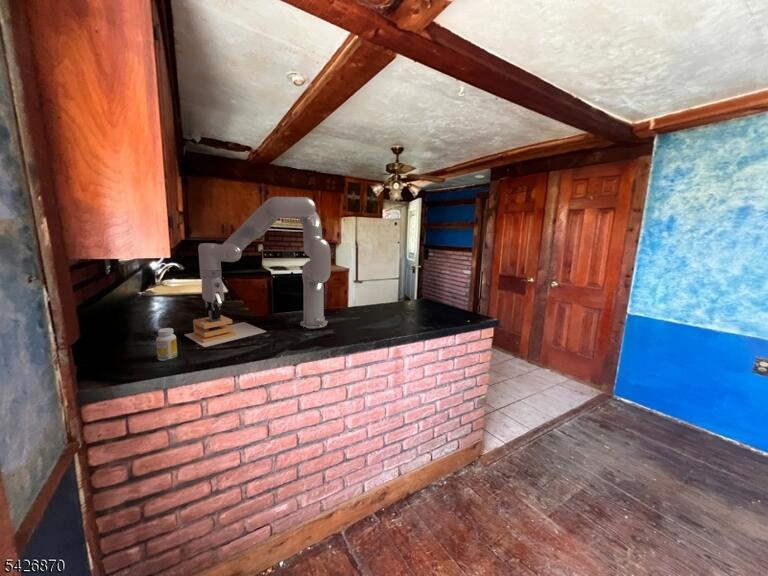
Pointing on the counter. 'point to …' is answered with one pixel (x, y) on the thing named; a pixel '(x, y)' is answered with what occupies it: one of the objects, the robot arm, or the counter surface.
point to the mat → (241, 332)
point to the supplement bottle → (166, 344)
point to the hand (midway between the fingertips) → (213, 317)
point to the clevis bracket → (206, 335)
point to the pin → (212, 321)
